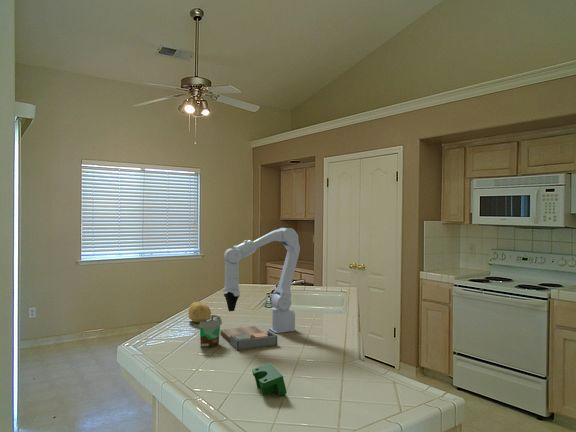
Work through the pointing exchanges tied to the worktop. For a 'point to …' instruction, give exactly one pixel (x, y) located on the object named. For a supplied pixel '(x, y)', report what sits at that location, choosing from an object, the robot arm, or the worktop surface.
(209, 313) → the potato
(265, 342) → the tray
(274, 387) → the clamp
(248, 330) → the walnut board
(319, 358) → the worktop surface
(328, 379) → the worktop surface
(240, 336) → the pale blue block
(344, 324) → the worktop surface
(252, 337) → the terracotta tile
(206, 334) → the food container
